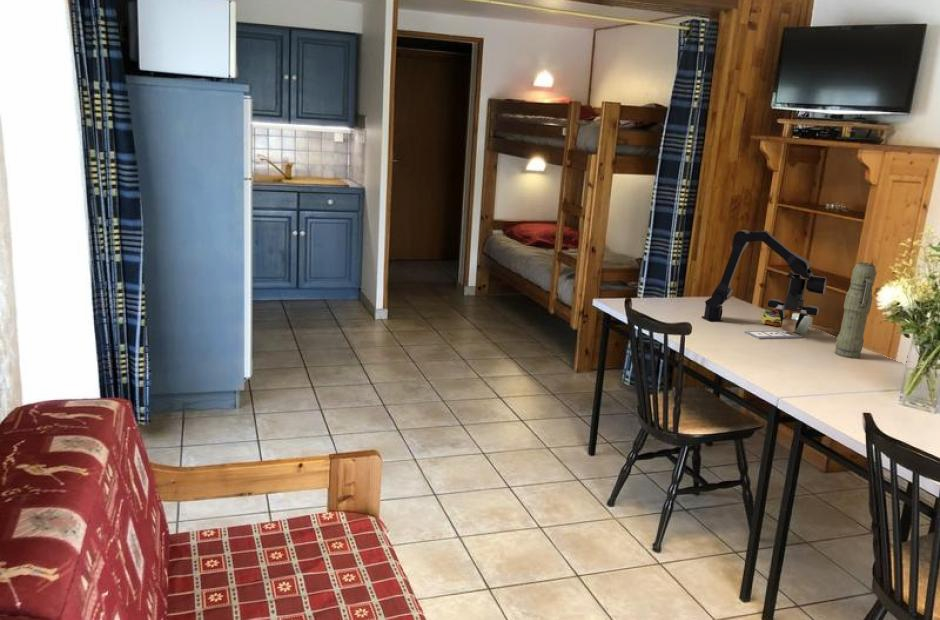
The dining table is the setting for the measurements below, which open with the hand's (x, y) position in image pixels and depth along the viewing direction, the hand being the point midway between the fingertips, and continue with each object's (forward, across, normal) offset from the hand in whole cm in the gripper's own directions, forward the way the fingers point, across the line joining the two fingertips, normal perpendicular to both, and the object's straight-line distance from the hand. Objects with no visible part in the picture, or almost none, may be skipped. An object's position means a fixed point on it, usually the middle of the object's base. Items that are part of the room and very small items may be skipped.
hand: (789, 327), depth 313 cm
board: (+3, -4, -5) cm, 8 cm away
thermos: (+3, +24, -12) cm, 27 cm away
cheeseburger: (+4, -8, +15) cm, 17 cm away
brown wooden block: (+1, 0, 0) cm, 1 cm away
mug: (+3, +3, +11) cm, 12 cm away
